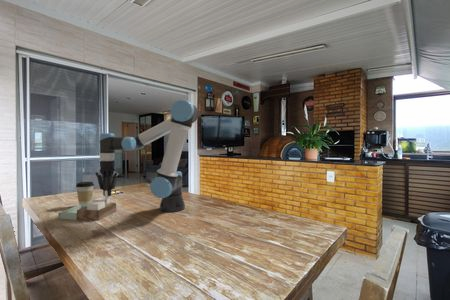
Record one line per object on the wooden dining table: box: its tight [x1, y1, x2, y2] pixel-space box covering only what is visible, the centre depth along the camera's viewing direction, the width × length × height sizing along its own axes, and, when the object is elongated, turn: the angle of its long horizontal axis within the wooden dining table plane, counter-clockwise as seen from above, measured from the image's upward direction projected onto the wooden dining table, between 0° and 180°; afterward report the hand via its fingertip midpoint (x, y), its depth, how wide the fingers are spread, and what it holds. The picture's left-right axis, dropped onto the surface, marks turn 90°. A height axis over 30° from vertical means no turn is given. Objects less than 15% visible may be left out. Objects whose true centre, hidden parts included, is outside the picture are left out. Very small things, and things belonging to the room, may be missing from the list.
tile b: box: [87, 201, 105, 210], centre depth 122 cm, size 6×6×3 cm
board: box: [76, 202, 117, 221], centre depth 127 cm, size 12×16×5 cm
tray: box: [57, 204, 87, 221], centre depth 128 cm, size 10×17×4 cm, turn 175°
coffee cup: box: [75, 181, 95, 205], centre depth 145 cm, size 10×10×15 cm
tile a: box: [92, 197, 110, 205], centre depth 131 cm, size 6×6×3 cm
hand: (107, 201), depth 130 cm, fingers closed
